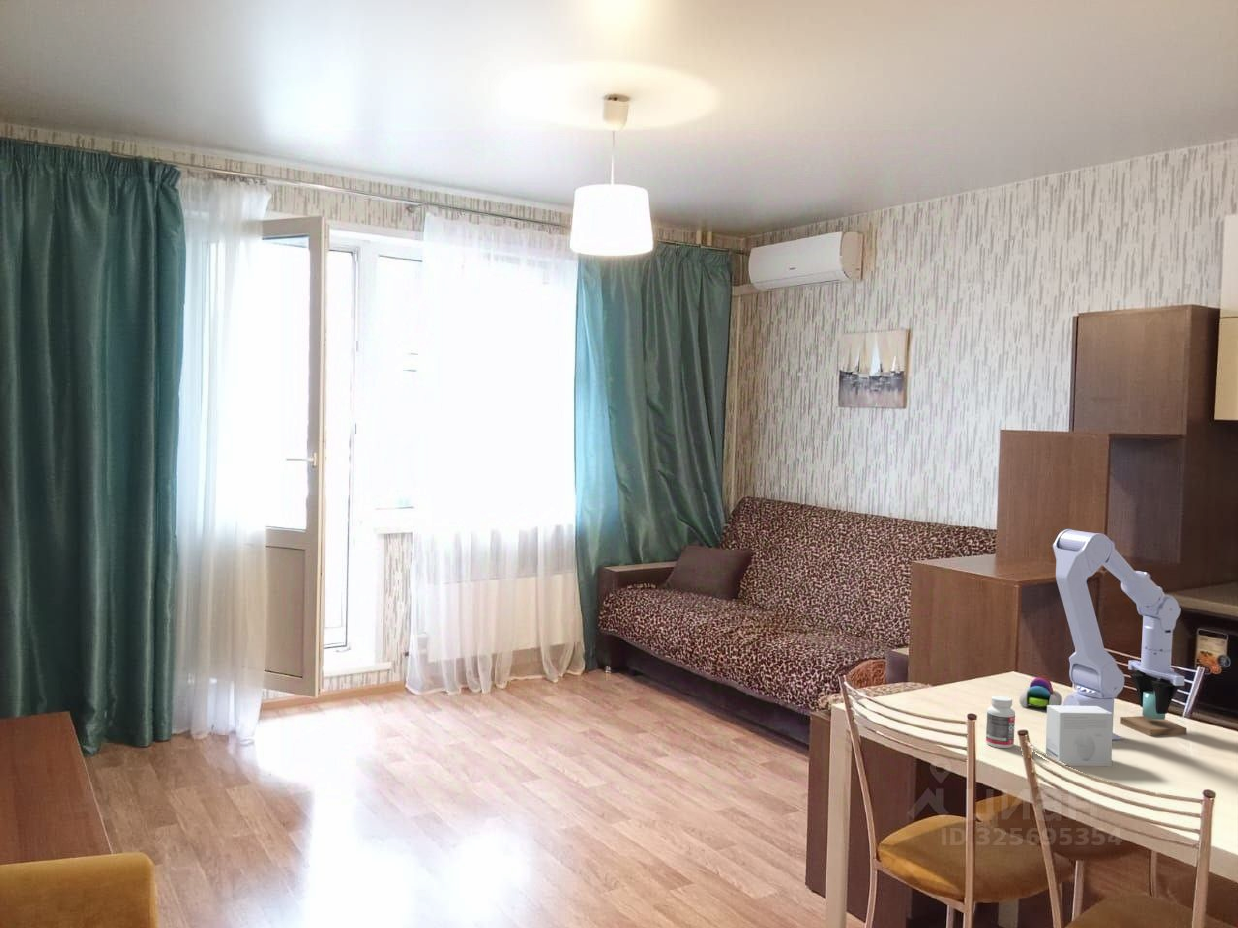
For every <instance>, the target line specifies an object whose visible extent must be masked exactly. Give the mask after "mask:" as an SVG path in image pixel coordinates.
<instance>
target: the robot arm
mask: <svg viewBox="0 0 1238 928" xmlns="http://www.w3.org/2000/svg"><path fill="white" fill-rule="evenodd" d="M1115 545H1116V544H1115V542H1114V541H1112V539H1111V540H1110V538H1109V537H1108V536H1107V535H1106V534H1104V533H1101V532H1097V533H1095V532H1089V531H1082V530H1081V531H1080V530H1075V529H1071V528H1066V529H1064V530H1062V531H1061V532H1060V533H1059V534H1058V535H1057V537H1056V539H1055V541H1054V543H1053V544H1052V548H1053V551H1054V552H1053V553H1054V557H1055V559H1056V561H1055V562H1056V564H1055V565H1056V566H1055V579H1056V583H1057V586H1058V590H1059V593H1060V599H1061V601H1062V605H1063V609H1064V612H1065V613H1064V614H1065V616H1066V620H1067V623H1068V627H1069V630H1070V635H1071V639H1072V642H1073V646H1074V650H1075V651H1074V652H1073V653H1072V654H1071V655H1070V656H1069V657H1068V661H1069V673H1068V674H1069V679H1070V681H1071V683H1072V684H1073V685H1074V690H1076V692H1074V693H1073V694H1072V693H1071V694H1068V695H1066V696H1065V698H1064V700H1063V705H1067V706H1099V707H1101V708H1103V709H1105V710H1107V711H1109V712H1111V713H1113V717H1114V715H1115V714H1114V711H1115V698H1118V696H1119V695H1120V694H1121V692H1122V690H1123V688H1124V685H1125V676H1124V672H1123V671H1122V670H1121V668H1120V667H1119V666H1118V663H1117V661H1116V659H1115V658H1114V657H1113V656H1112V655H1111V654H1110V653H1109V652H1108V651H1107V650H1106V649H1105V647H1104V643H1103V638H1102V635H1101V632H1100V631H1101V630H1100V627H1099V624H1098V621H1097V616H1096V613H1095V609H1094V606H1093V602H1092V597H1091V595H1090V591H1089V586H1088V583H1087V581H1088V579H1089V578H1090V577H1092V576H1093V575H1095V573H1096V572H1097V571H1098V570H1099V569H1100V568H1101V567H1103V568H1105V569H1106V570H1107V571H1108V572H1109V573H1111V574H1112V575H1113V576H1114V577H1116V579H1118V580H1119V581H1120V588H1121V590H1122V592H1124V593H1125V595H1127V596H1128V598H1129V599H1131V600H1132V602H1134V603H1135V604H1136V609H1137V612H1138V614H1139V615H1140V616H1142V618H1143V619H1142V633H1141V634H1142V636H1141V637H1142V638H1141V639H1142V640H1141V656H1140V657H1141V659H1140V660H1141V661H1140V660H1136V659H1135V660H1128V664H1127V669H1128V670H1130V671H1136V672H1135V673H1130V674H1129V675H1130V676H1129V678H1130V680H1132V683H1133V684H1134V687H1135V690H1136V694H1137V696H1138V700H1139V705H1140V707H1141V708H1143V692H1145V691H1154V692H1155V700H1156V713H1158V714H1165V715H1166V714H1168V711H1169V708H1170V706H1171V702H1172V700H1173V698H1174V696H1175V695H1176V694H1177V692H1178V690H1180V688H1181V687H1182V686H1185V676H1184V675H1181V674H1180V673H1178V672H1176V671H1175V668H1172V667H1171V666H1172V649H1173V632H1174V630H1175V628H1176V625H1177V624H1176V623H1177V620H1178V618H1179V617H1180V615H1181V611H1182V610H1181V609H1182V608H1181V607H1180V604H1179V602H1178V601H1177V599H1176V598H1175V597H1173V595H1169V594H1165V592H1164V591H1163V590H1164V589H1163V588H1162V587H1161V586H1158V585H1157V584H1156V583H1155V582H1154V581H1153V580H1152V579H1151V575H1150V574H1149V572H1145V571H1140V570H1134V568H1133V567H1131V565H1130V564H1129V563H1128V562H1127V560H1126V559H1125V558H1124V557H1123V556H1122V555H1121V553H1120V552H1119V551H1118V550H1117V549H1116V546H1115ZM1158 679H1159V680H1158ZM1122 739H1123V737H1122V736H1121V735H1118V734H1116V733H1114V724H1113V725H1112V741H1114V740H1115V741H1116V740H1119V741H1120V740H1122Z"/></svg>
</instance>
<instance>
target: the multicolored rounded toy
mask: <svg viewBox="0 0 1238 928" xmlns="http://www.w3.org/2000/svg"><path fill="white" fill-rule="evenodd" d="M1018 701H1019V704H1020V706H1022V707H1023V708H1025V709H1026V708H1029V706H1030V705H1035V706H1040V707H1047V705H1062V701H1063V697H1062V695H1061V694H1060V692H1059V691H1056V690H1054V688H1053V685H1052V682H1051V680H1050V679H1048V678H1047V677H1045V676H1037V677H1035V678H1034V679H1032V680H1031V681H1030V683H1029V686H1028V687H1026V688H1024V689H1023V691H1022V692H1020V694H1019V699H1018Z"/></svg>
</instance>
